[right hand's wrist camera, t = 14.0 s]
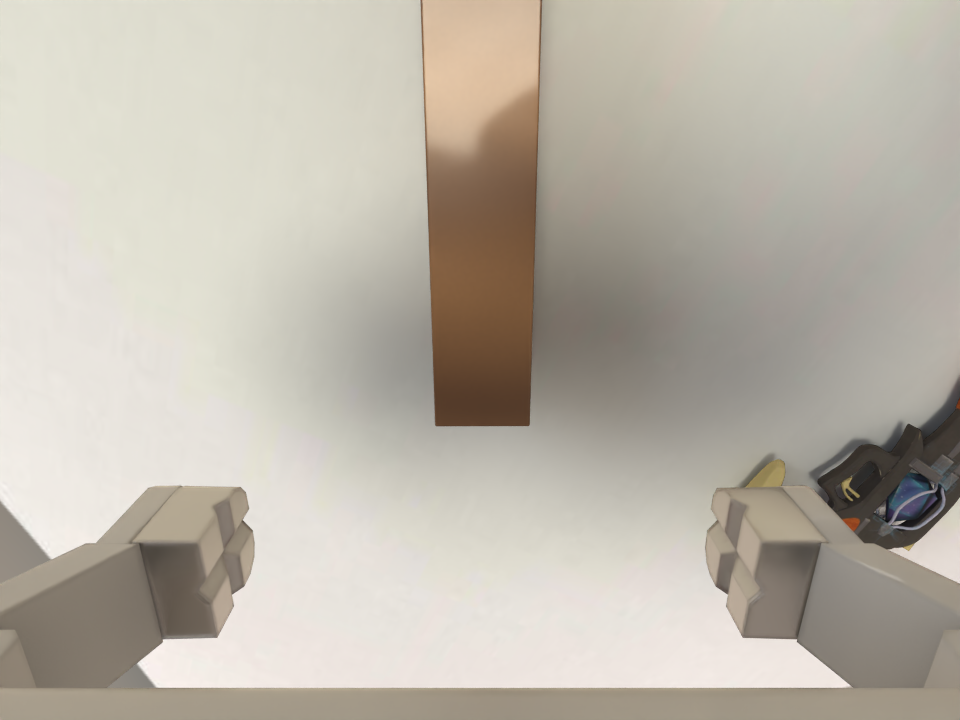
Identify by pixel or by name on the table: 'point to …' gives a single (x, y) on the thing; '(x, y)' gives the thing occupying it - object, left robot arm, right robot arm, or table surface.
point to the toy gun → (893, 485)
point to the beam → (481, 204)
